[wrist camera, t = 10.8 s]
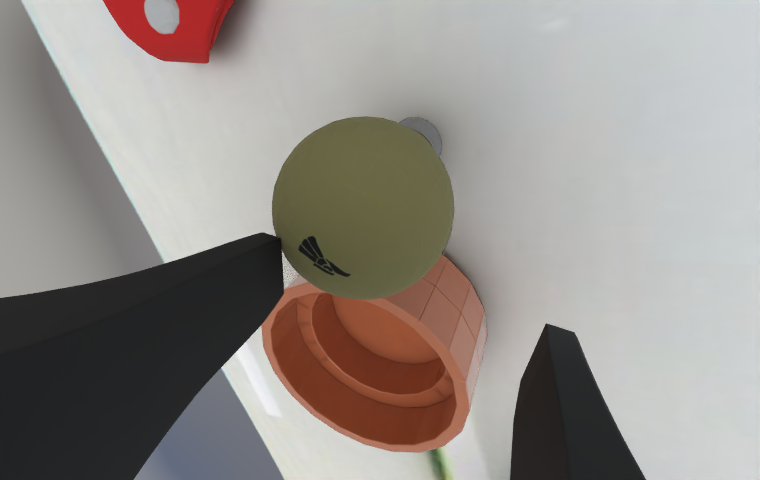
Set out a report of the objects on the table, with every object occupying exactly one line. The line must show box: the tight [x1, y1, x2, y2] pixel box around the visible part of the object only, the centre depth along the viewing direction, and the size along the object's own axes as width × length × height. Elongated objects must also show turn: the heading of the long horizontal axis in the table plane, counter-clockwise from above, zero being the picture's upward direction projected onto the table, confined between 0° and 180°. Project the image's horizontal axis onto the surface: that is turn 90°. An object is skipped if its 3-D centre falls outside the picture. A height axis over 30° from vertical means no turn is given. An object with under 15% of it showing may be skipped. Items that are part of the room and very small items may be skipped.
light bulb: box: [272, 117, 454, 300], centre depth 14 cm, size 6×6×10 cm
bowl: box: [261, 254, 487, 453], centre depth 21 cm, size 11×11×6 cm
